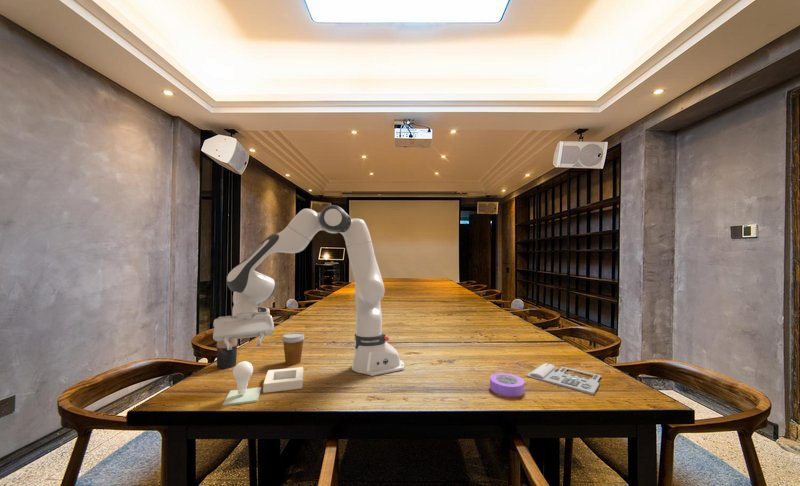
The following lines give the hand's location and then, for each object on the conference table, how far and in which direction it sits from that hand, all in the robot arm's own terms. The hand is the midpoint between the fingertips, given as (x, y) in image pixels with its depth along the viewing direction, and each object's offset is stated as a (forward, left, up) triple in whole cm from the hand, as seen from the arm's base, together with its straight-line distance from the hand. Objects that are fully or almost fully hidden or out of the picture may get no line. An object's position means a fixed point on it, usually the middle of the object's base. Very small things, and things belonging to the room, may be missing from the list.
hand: (244, 347), depth 111 cm
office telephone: (-120, +23, -15) cm, 123 cm away
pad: (-1, +7, -14) cm, 16 cm away
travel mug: (+11, -26, -15) cm, 32 cm away
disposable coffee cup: (-16, -23, -15) cm, 31 cm away
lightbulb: (-1, +7, -14) cm, 16 cm away
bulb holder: (-14, -1, -14) cm, 20 cm away
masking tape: (-91, +26, -15) cm, 96 cm away
